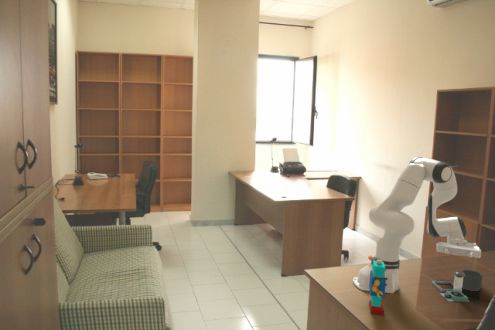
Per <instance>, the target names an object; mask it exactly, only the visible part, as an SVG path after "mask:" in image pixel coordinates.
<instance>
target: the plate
mask: <svg viewBox="0 0 495 330" xmlns="http://www.w3.org/2000/svg"><path fill="white" fill-rule="evenodd" d="M439 294H440V295H441V296H442V297H444V299H446V300H447V301H448V302H470V300H469V297H468V296H467V295H465V294H464V293H463V292H462V293H461V297H456V296H454V295H453V291H446V292H443V293H441V292H440V293H439Z"/></svg>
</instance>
